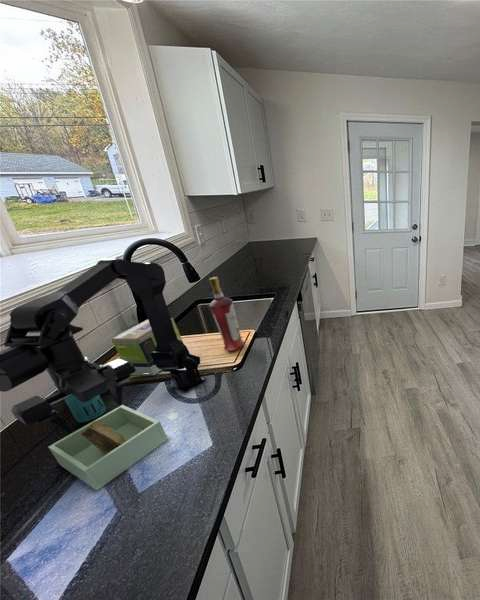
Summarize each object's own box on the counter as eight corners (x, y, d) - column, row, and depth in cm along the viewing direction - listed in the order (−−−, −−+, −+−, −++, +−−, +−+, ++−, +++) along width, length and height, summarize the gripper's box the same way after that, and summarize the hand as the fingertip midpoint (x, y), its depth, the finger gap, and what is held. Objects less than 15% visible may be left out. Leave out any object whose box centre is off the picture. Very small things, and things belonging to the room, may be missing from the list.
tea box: (164, 351, 119) (150, 316, 113) (187, 352, 118) (174, 317, 112) (127, 375, 105) (109, 337, 100) (153, 376, 104) (136, 338, 98)
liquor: (228, 344, 121) (207, 275, 111) (248, 342, 122) (228, 273, 111) (221, 354, 115) (197, 282, 104) (241, 352, 115) (219, 280, 104)
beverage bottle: (90, 428, 83) (53, 365, 75) (71, 426, 85) (33, 363, 77) (115, 411, 89) (83, 351, 81) (97, 409, 90) (64, 349, 83)
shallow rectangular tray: (131, 421, 85) (122, 404, 83) (168, 439, 78) (159, 421, 76) (60, 465, 73) (47, 446, 70) (96, 490, 66) (84, 471, 64)
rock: (84, 437, 76) (65, 463, 67) (100, 405, 76) (83, 427, 68) (137, 444, 81) (125, 469, 73) (152, 414, 82) (142, 435, 73)
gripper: (15, 397, 54) (58, 462, 60) (135, 344, 70) (160, 400, 76) (-9, 383, 59) (33, 445, 65) (109, 336, 74) (134, 390, 80)
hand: (96, 418), depth 71 cm, fingers open, 9 cm apart
